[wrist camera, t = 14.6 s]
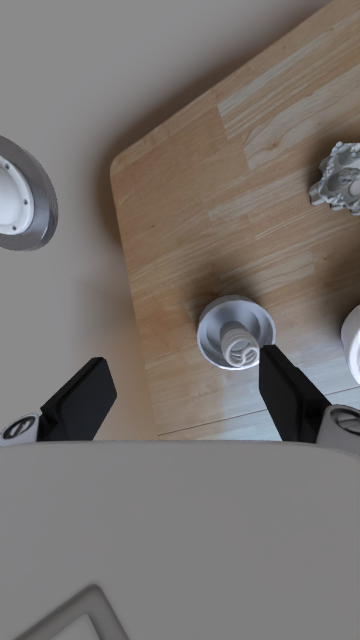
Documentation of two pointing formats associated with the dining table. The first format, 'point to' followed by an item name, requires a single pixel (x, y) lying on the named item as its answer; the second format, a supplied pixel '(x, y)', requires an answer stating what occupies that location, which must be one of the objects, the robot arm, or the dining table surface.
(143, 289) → the dining table surface
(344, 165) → the egg carton
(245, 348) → the light bulb
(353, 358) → the bowl
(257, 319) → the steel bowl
